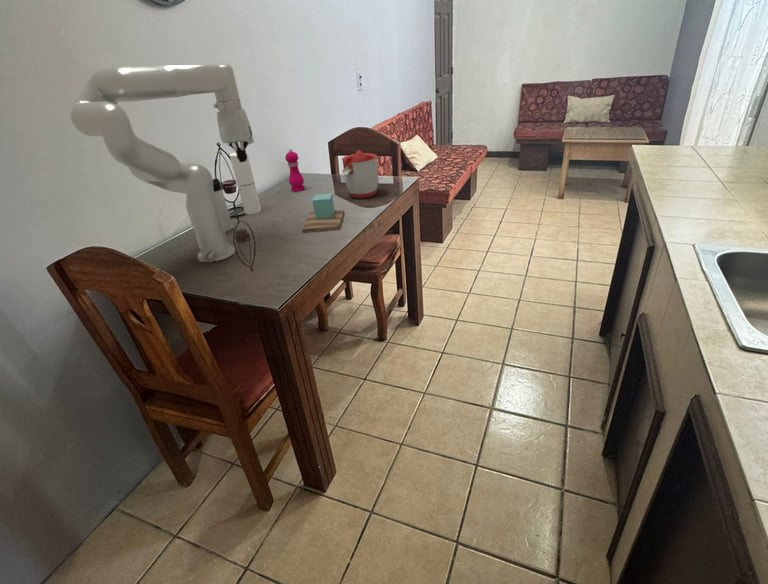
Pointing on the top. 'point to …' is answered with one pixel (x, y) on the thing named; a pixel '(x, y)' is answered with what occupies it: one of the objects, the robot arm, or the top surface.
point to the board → (323, 222)
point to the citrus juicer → (361, 174)
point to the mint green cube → (323, 206)
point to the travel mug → (222, 206)
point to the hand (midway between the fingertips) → (243, 161)
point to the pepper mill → (294, 172)
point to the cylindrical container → (246, 184)
